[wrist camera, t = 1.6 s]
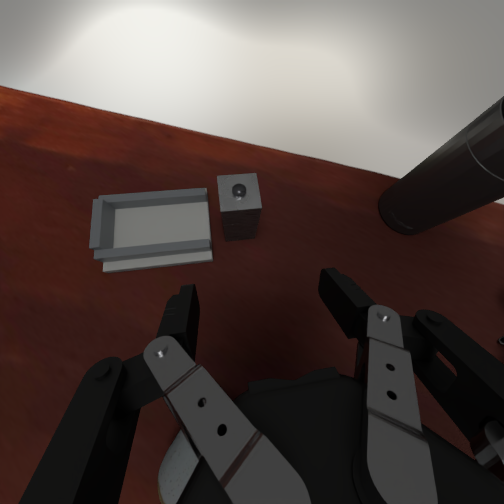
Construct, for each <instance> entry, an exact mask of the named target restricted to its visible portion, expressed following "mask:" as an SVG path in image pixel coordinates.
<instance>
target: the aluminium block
mask: <svg viewBox="0 0 504 504" xmlns="http://www.w3.org/2000/svg"><path fill="white" fill-rule="evenodd" d="M217 180H218V190H219V199H220V209H221V216H222V222H223V228H224V234H225V240H226V242H227V241H237V240H246V239H255V235H256V231H257V227H258V223H259V218H260V214H261V210H262V205H261V199H260V193H259V187H258V181H257V175H256V173H252V174H237V175H223V176H217Z"/></svg>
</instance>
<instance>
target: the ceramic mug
mask: <svg viewBox="0 0 504 504" xmlns="http://www.w3.org/2000/svg"><path fill="white" fill-rule="evenodd" d="M232 402H233V401H232ZM198 462H199V461H198V459H197V457H196V456H195V454H194V452H193V450H192V449H191V447H190V445H189V443H188V442H187V440H186V438H185V436H184V434H183V432H182V430H180V432H179V433H178V435H177V436H176V438H175V440H174V441H173V443H172V444H171V446H170V448H169V449H168V451H167V453H166V455H165V457H164V460H163V462H162V464H161V466H160V470H159V474H158V494H159V498H160V501H161V503H162V504H176V503H177V501H178V499H179V497H180V495H181V493H182V492H183V490H184V488H185V486H186V484H187V482H188V480H189V478H190V477H191V475H192V473H193V471H194V469H195V467H196V465H197V463H198Z"/></svg>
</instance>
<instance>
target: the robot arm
mask: <svg viewBox="0 0 504 504" xmlns="http://www.w3.org/2000/svg"><path fill="white" fill-rule="evenodd" d="M503 197H504V96H503V97H502V98H501V99H500V100H498V101H497V102H496V103H495V104H493V105H492V106H491V107H490V108H488V109H487V110H486V111H485V112H483V113H482V114H481V115H480V116H479V117H477V118H476V119H475V120H474V121H473V122H471V123H470V124H469V125H468V126H466V127H465V128H464V129H463V130H461V131H460V132H459V133H458V134H456V135H455V136H454V137H453V138H451V139H450V140H449V141H448V142H446V143H445V144H444V145H443V146H441V147H440V148H439V149H438V150H436V151H435V152H434V153H433V154H431V155H430V156H429V157H428V158H426V159H425V160H424V161H423V162H422V163H420V164H419V165H418V166H416V167H415V168H414V169H413V170H411V172H409V173H408V174H407V175H405V176H404V177H403V178H401V179H400V180H399V181H398V182H396V183H395V184H394V185H393V186H391V187H390V188H389V189H388V190H386V191H385V192H384V193H383V194H382V196H381V198H380V200H379V210H380V214H381V216H382V218H383V219H384V221H385V222H386V223H387V224H388V225H389V226H390V227H391V228H392V229H394V230H395V231H397V232H400V233H402V234H406V235H414V234H418V233H421V232H423V231H425V230H428V229H430V228H432V227H435V226H437V225H440V224H442V223H445V222H447V221H449V220H452V219H454V218H456V217H459V216H461V215H463V214H466V213H468V212H471V211H473V210H475V209H478V208H480V207H482V206H485V205H487V204H489V203H492V202H494V201H496V200H499V199H501V198H503ZM318 292H319V295H320V297H321V299H322V301H323V302H324V303H325V305H326V306H327V308H328V309H329V311H330V312H331V314H332V315H333V317H334V318H335V320H336V321H337V323H338V324H339V326H340V327H341V329H342V330H343V332H344V333H345V335H346V336H347V338H348V339H351V338H357V339H358V344H357V352H356V362H355V372H354V378H352V377H349V376H346V375H342V374H338V372H337V370H336V368H335V367H330V368H325V369H319V370H314V371H312V372H310V373H308V374H306V375H304V376H302V377H300V378H299V379H297V380H283V379H272V378H269V379H264V380H258V381H253V382H248V389H249V390H247V391H245V392H243V393H242V394H241V395H239V396H238V397H237V398H236V399H235V400H234V401H233V402H232V400H231V399H230V398H229V397H228V396H227V395H226V393H225V392H224V391H223V390H222V389H221V387H220V386H219V385H218V384H217V383H216V382H215V380H214V379H213V378H212V377H211V376H210V375H209V373H208V372H207V371H206V370H205V369H204V368H203V367H202V366H201V365H200V364H199V365H196V364H195V354H196V345H197V335H198V325H199V316H200V306H199V300H198V296H197V291H196V287H195V284H190V285H182V286H181V289H180V293H179V294H178V295H173V296H172V297H171V298H170V299H169V300H168V302H167V304H166V308H165V311H164V314H163V317H162V320H161V323H160V327H159V330H158V333H157V336H156V339H155V340H153V341H152V342H151V343H149V345H148V346H147V347H146V349H145V351H144V352H143V353H141V354H139V355H137V356H135V357H132V358H130V359H128V360H125V361H123V362H122V361H121V359H120V358H118V357H108V358H105V359H103V360H101V361H99V362H97V363H96V364H95V365H93V366H92V367H91V368H90V369H89V370H88V371H87V372H86V374H85V375H84V377H83V379H82V381H81V383H80V385H79V387H78V389H77V391H76V393H75V395H74V397H73V398H72V400H71V402H70V404H69V406H68V408H67V410H66V412H65V414H64V416H63V418H62V420H61V422H60V424H59V426H58V428H57V430H56V432H55V434H54V435H53V437H52V439H51V441H50V443H49V445H48V447H47V449H46V451H45V453H44V455H43V457H42V459H41V461H40V463H39V465H38V467H37V469H36V471H35V472H34V474H33V476H32V478H31V480H30V482H29V484H28V486H27V488H26V490H25V492H24V494H23V496H22V498H21V500H20V502H19V504H118V502H119V498H120V494H121V489H122V485H123V481H124V477H125V472H126V468H127V464H128V460H129V456H130V451H131V447H132V443H133V439H134V434H135V430H136V426H137V422H138V417H139V413H140V409H141V407H142V406H144V405H146V404H148V403H150V402H152V401H154V400H156V399H158V398H160V397H163V399H164V401H165V402H166V404H167V406H168V408H169V409H170V411H171V413H172V415H173V416H174V418H175V420H176V421H177V423H178V425H179V427H180V429H181V430H182V432H183V434H184V436H185V438H186V440H187V442H188V443H189V445H190V447H191V449H192V450H193V452H194V454H195V456H196V457H197V459H198V461H199V462H198V463H197V465H196V467H195V469H194V471H193V473H192V475H191V477H190V478H189V480H188V482H187V484H186V486H185V488H184V490H183V492H182V493H181V495H180V497H179V499H178V501H177V503H176V504H504V365H503V364H502V363H501V362H500V361H498V360H497V359H496V358H495V357H494V356H492V355H491V354H490V353H489V352H487V351H486V350H485V349H484V348H482V347H481V346H480V345H479V344H478V343H476V342H475V341H474V340H473V339H471V338H470V337H469V336H468V335H466V334H465V333H464V332H463V331H462V330H460V329H459V328H458V327H457V326H455V325H454V324H453V323H452V322H451V321H449V320H448V319H447V318H445V317H444V316H442V315H441V314H439V313H436V312H434V311H430V310H419V311H417V313H416V315H415V317H410V316H400V315H398V314H397V313H396V312H395V311H394V310H392V309H390V308H388V307H386V306H382V305H377V304H376V303H375V302H374V301H373V300H372V299H371V298H370V297H369V296H368V295H367V294H366V293H365V292H364V291H363V290H362V289H361V288H360V287H359V286H358V285H356V283H355V282H354V281H353V280H352V279H351V278H349V277H347V276H346V275H344V274H340V273H339V272H338V271H337V269H336V268H326V269H322V270H321V273H320V280H319V286H318ZM438 351H439V352H440V353H441V354H442V355H443V356H444V357H445V358H446V359H447V360H448V361H449V362H450V363H451V364H452V365H453V366H454V368H455V369H456V371H457V377H456V376H455V375H454V373H453V372H452V371H451V370H450V369H449V368H448V367H447V366H446V365H445V364H444V363H443V362H442V361H441V360H440V359H439V358H438V357H437V356H436V354H437V353H438ZM413 372H414V373H415V374H416V375H417V377H418V378H419V379H420V380H421V382H422V383H423V384H424V385H425V387H426V388H427V389H428V390H429V392H430V393H431V394H432V395H433V397H434V398H435V399H436V400H437V402H438V403H439V404H440V405H441V407H442V408H443V409H444V410H445V412H446V413H447V414H448V415H449V417H450V418H451V419H452V420H453V422H454V423H455V424H456V425H457V427H458V428H459V429H460V430H461V432H462V433H463V434H464V435H465V437H466V438H467V439H468V440H469V442H470V447H471V450H472V452H473V454H474V456H475V458H476V459H475V460H474V459H472V458H471V457H469V456H468V455H466V454H465V453H463V452H462V451H461V450H459V449H458V448H456V447H455V446H453V445H452V444H451V443H449V442H448V441H446V440H445V439H443V438H442V437H440V436H439V435H438V434H436V433H435V432H433V431H432V430H430V429H429V428H428V427H426V426H425V425H423V424H422V423H421V422H420V415H419V408H418V401H417V395H416V388H415V381H414V375H413Z"/></svg>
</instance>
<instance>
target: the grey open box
mask: <svg viewBox="0 0 504 504" xmlns="http://www.w3.org/2000/svg"><path fill="white" fill-rule="evenodd" d="M89 248H90V249H93V250H94V259H95V260H98V261H101V262H104V263H103V272H106V273H113V272H122V271H131V270H140V269H149V268H158V267H166V266H175V265H184V264H193V263H202V262H211V261H213V254H212V242H211V230H210V219H209V207H208V195H207V189H206V188H196V189H182V190H169V191H156V192H142V193H129V194H116V195H102V196H99V199H93V210H92V221H91V233H90V244H89Z"/></svg>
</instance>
